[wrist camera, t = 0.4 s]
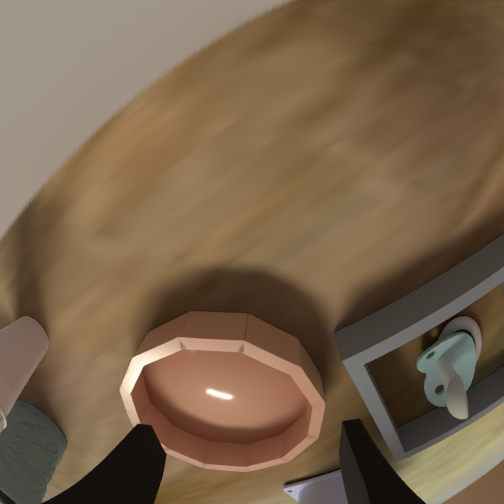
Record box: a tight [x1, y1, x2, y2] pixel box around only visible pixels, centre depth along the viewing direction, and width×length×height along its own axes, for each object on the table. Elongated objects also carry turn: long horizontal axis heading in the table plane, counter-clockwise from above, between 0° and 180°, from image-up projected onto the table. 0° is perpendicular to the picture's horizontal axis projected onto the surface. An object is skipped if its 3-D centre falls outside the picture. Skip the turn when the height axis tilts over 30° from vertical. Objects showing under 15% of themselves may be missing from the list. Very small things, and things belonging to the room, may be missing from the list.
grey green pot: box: [0, 400, 67, 504], centre depth 21 cm, size 10×10×12 cm
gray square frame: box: [334, 233, 504, 462], centre depth 18 cm, size 14×14×3 cm
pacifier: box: [416, 316, 482, 419], centre depth 17 cm, size 7×6×6 cm
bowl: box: [119, 311, 326, 472], centre depth 20 cm, size 14×14×3 cm
